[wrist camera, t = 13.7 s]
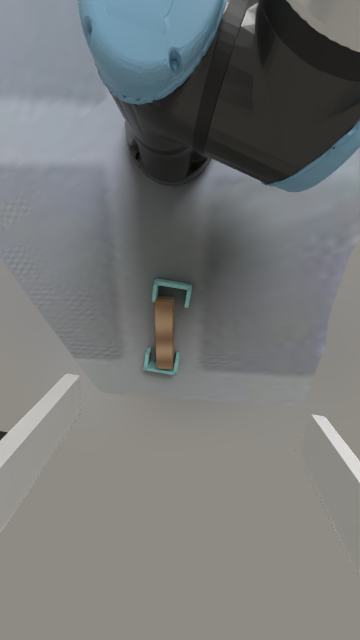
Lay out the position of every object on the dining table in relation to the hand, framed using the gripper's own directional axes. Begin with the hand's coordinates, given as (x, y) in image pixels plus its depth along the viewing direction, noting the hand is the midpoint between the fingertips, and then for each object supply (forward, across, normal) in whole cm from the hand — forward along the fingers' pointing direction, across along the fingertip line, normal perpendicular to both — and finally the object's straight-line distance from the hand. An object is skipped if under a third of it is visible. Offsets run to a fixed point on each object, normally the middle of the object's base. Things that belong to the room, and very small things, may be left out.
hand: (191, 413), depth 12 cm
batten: (+35, -4, -10) cm, 37 cm away
